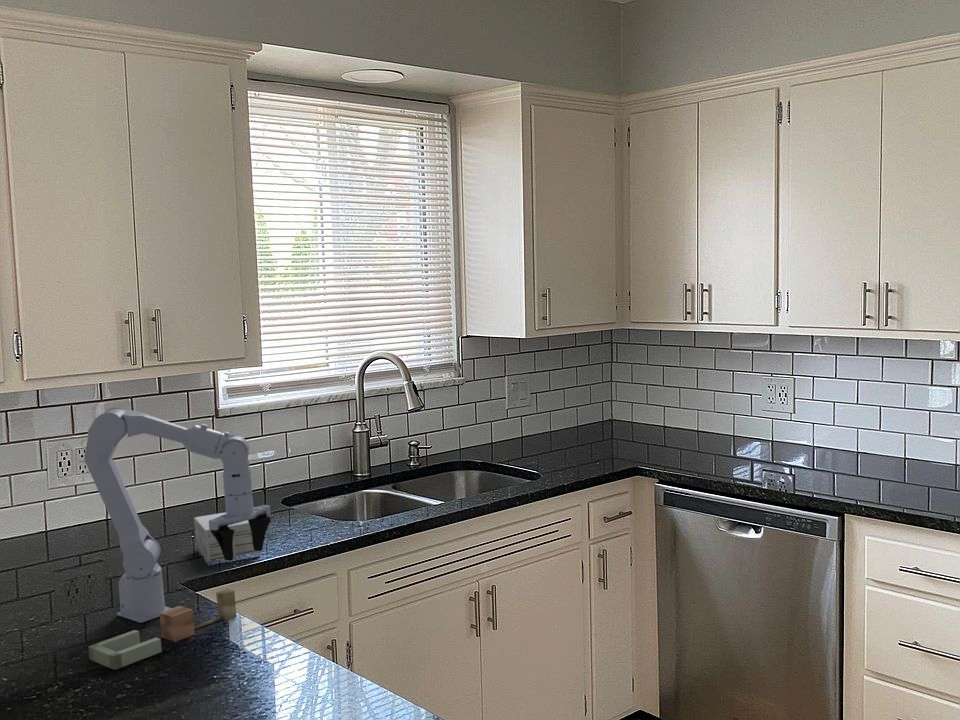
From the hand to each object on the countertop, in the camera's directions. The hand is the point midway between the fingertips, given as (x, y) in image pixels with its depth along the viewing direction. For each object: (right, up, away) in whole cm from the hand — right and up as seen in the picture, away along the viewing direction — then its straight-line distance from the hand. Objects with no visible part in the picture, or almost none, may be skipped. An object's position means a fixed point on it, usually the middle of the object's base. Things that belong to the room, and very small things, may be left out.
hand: (243, 554), depth 201 cm
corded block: (-5, -12, -12) cm, 18 cm away
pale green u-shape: (-16, -14, -25) cm, 33 cm away
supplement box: (-14, -8, +39) cm, 43 cm away
